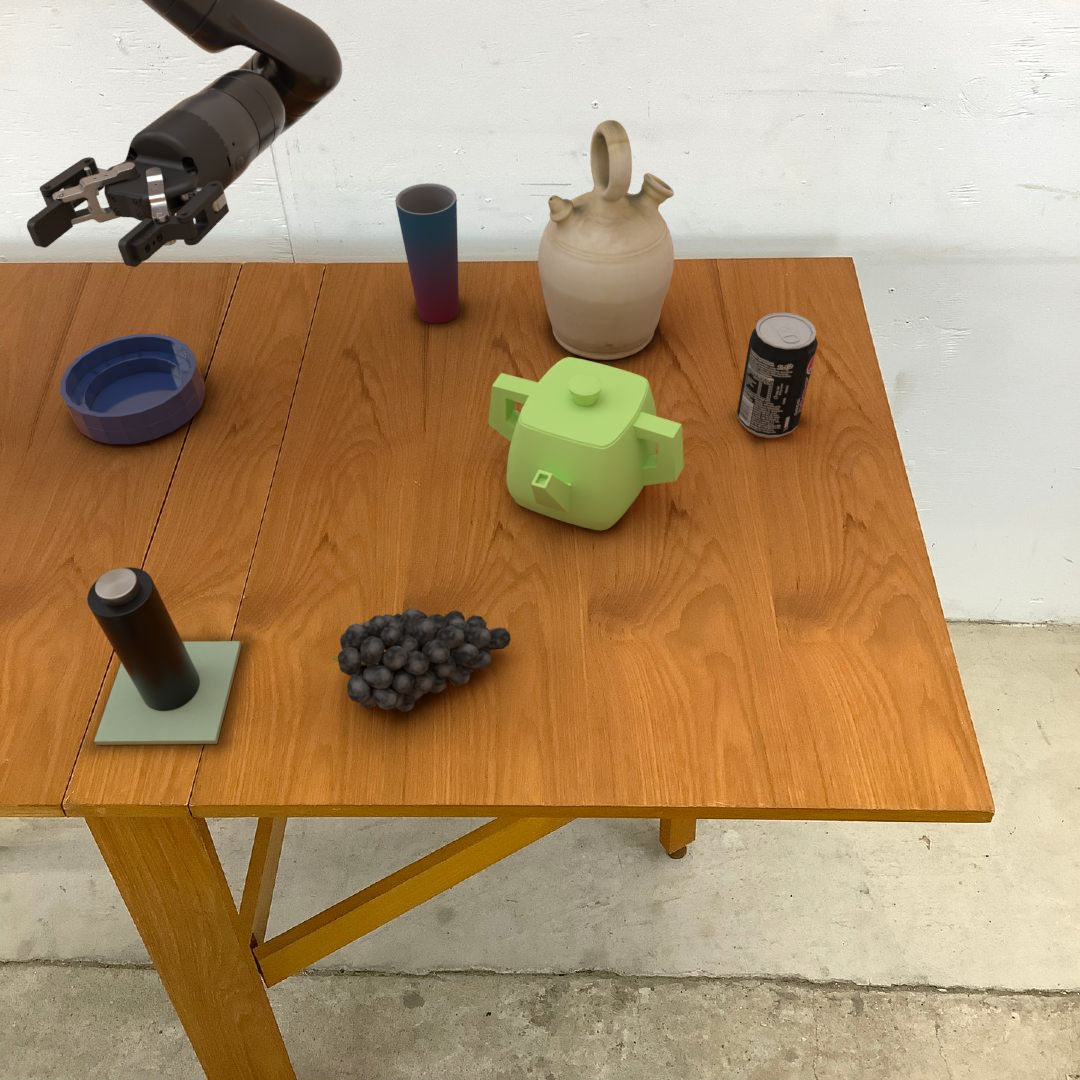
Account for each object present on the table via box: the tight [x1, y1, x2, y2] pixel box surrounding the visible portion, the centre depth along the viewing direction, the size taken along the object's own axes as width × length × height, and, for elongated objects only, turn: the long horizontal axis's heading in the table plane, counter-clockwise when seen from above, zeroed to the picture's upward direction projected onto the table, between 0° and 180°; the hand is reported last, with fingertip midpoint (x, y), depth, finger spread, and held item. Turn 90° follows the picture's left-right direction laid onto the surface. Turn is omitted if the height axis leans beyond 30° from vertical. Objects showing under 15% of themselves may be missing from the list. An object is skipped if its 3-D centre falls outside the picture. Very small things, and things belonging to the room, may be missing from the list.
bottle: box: [86, 566, 200, 711], centre depth 78 cm, size 5×5×14 cm
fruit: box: [330, 608, 512, 713], centre depth 81 cm, size 9×8×15 cm
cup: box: [395, 182, 460, 325], centre depth 115 cm, size 7×7×15 cm
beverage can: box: [736, 311, 819, 439], centre depth 101 cm, size 7×7×12 cm
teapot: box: [487, 356, 685, 531], centre depth 94 cm, size 18×20×13 cm
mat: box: [93, 640, 243, 746], centre depth 84 cm, size 10×10×1 cm
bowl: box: [59, 333, 207, 445], centre depth 108 cm, size 14×14×4 cm
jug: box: [537, 119, 675, 361], centre depth 108 cm, size 15×16×25 cm
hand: (79, 246), depth 76 cm, fingers open, 8 cm apart
